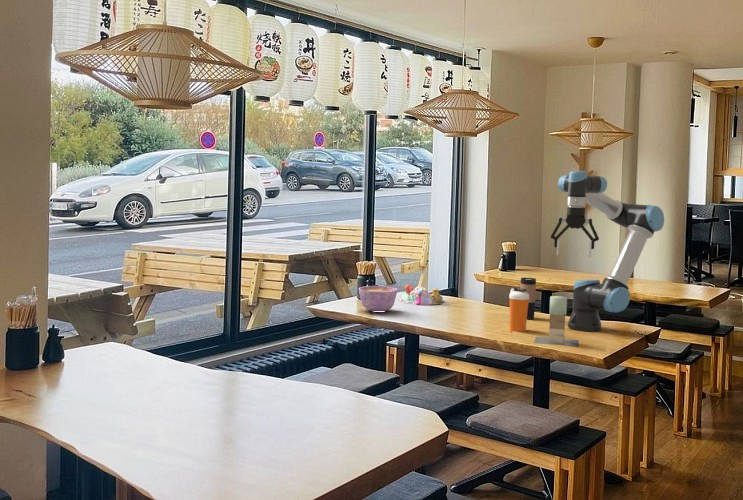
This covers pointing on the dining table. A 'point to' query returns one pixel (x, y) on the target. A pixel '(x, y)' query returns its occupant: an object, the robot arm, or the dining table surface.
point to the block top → (557, 321)
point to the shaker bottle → (518, 309)
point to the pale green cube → (558, 305)
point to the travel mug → (531, 290)
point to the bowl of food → (377, 297)
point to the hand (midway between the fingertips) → (573, 255)
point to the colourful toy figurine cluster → (421, 296)
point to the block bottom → (556, 335)
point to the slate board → (566, 343)
